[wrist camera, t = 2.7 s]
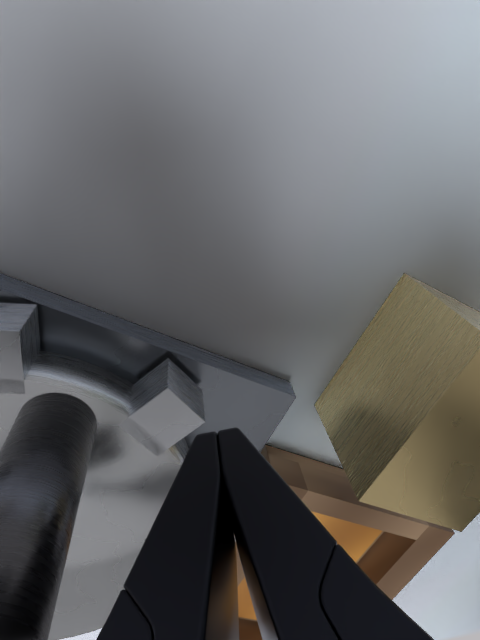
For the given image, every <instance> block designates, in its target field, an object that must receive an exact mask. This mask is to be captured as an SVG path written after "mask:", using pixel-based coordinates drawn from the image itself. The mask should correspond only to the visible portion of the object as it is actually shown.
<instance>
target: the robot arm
mask: <svg viewBox="0 0 480 640" xmlns="http://www.w3.org/2000/svg"><path fill="white" fill-rule="evenodd" d="M234 535H235V536H234ZM235 540H236V544H235ZM236 545H237V549H238V553H239V557H240V561H241V565H242V568H243V572H244V575H245V579H246V582H247V586H248V590H249V593H250V597H251V600H252V604H253V607H254V611H255V615H256V618H257V622H258V625H259V629H260V632H261V636H262V640H434V639H433V638H432V637H431V636H430V635H429V634H427V633H426V632H425V631H424V630H423V629H422V628H421V627H420V626H419V625H418V624H417V623H415V622H414V621H413V620H412V619H411V618H410V617H409V616H408V615H407V614H406V613H405V612H404V611H403V610H402V609H400V608H399V607H398V606H397V605H396V604H395V603H394V602H393V601H392V600H391V599H390V598H389V597H388V596H387V595H386V594H385V593H384V592H383V591H382V590H381V589H380V588H379V587H378V586H377V585H376V584H375V583H374V582H373V581H372V580H371V579H370V578H369V577H368V575H367V574H366V573H365V572H364V571H363V570H362V569H361V568H360V567H359V566H358V565H357V564H356V562H355V561H354V560H353V559H352V558H351V557H350V556H349V554H348V553H347V552H346V551H345V550H344V549H343V547H342V546H341V545H339V544H338V545H337V541H336V540H335V539H334V537H333V536H332V535H331V534H330V533H329V532H328V530H327V529H326V528H325V527H324V526H323V525H322V524H321V522H320V521H319V520H318V519H317V518H316V517H315V515H314V514H313V513H312V512H311V511H310V510H309V509H308V507H307V506H306V505H305V504H304V503H303V502H302V500H301V499H300V498H299V497H298V496H297V495H296V493H295V492H294V491H293V490H292V489H291V488H290V487H289V485H288V484H287V483H286V482H285V481H284V480H283V478H282V477H281V476H280V475H279V474H278V473H277V472H276V470H275V469H274V468H273V467H272V466H271V465H270V463H269V462H268V461H267V460H266V459H265V458H264V456H263V455H262V454H261V453H260V452H259V451H258V450H257V448H256V447H255V446H254V445H253V444H252V443H251V441H250V440H249V439H248V438H247V437H246V436H245V435H244V433H243V432H242V431H241V430H240V429H239V428H237V427H233V428H228V429H223V430H219V431H218V435H217V433H216V432H215V431H212V432H207V433H202V434H198V435H196V436H195V438H194V440H193V442H192V444H191V446H190V448H189V450H188V452H187V454H186V456H185V459H184V461H183V463H182V465H181V467H180V469H179V471H178V473H177V475H176V477H175V479H174V481H173V484H172V486H171V488H170V490H169V492H168V494H167V496H166V498H165V500H164V502H163V504H162V506H161V508H160V511H159V513H158V515H157V517H156V519H155V521H154V523H153V525H152V527H151V529H150V531H149V533H148V536H147V538H146V540H145V542H144V544H143V546H142V548H141V550H140V552H139V554H138V556H137V558H136V561H135V563H134V565H133V567H132V569H131V571H130V573H129V575H128V577H127V579H126V581H125V583H124V586H123V587H124V589H123V590H121V591H120V593H119V595H118V597H117V600H116V602H115V604H114V606H113V608H112V610H111V612H110V614H109V616H108V618H107V620H106V622H105V624H104V626H103V628H102V630H101V632H100V634H99V636H98V638H97V640H239V616H238V585H237V557H236Z"/></svg>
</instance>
